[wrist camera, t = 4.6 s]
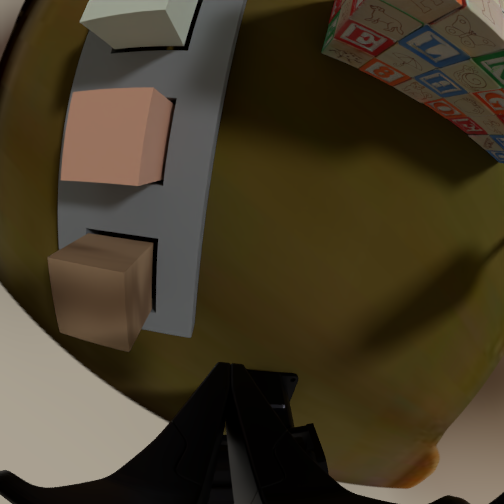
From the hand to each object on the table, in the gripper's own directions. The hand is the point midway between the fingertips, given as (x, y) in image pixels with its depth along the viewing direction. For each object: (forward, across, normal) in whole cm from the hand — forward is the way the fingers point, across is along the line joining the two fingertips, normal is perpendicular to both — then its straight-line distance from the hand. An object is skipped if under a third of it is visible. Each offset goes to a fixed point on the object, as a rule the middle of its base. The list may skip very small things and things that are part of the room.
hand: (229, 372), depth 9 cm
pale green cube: (+9, +8, -17) cm, 21 cm away
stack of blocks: (+12, -15, -18) cm, 26 cm away
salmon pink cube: (+11, +8, -8) cm, 15 cm away
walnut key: (+9, +8, +1) cm, 12 cm away
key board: (+11, +8, -8) cm, 16 cm away
